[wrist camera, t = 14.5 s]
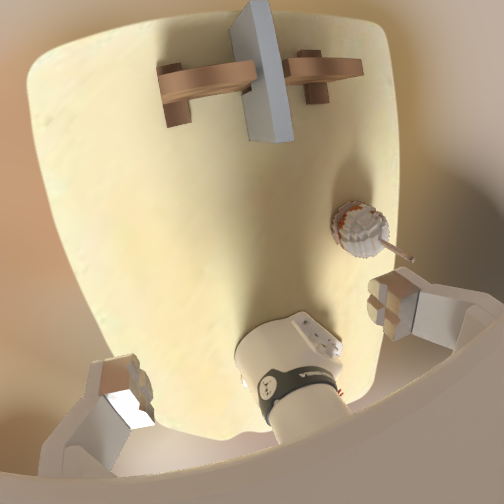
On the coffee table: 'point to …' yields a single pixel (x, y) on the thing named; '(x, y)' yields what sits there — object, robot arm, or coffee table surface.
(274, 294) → the coffee table surface
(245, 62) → the walnut crosspiece
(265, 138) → the grey plate
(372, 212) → the decorative ornament
